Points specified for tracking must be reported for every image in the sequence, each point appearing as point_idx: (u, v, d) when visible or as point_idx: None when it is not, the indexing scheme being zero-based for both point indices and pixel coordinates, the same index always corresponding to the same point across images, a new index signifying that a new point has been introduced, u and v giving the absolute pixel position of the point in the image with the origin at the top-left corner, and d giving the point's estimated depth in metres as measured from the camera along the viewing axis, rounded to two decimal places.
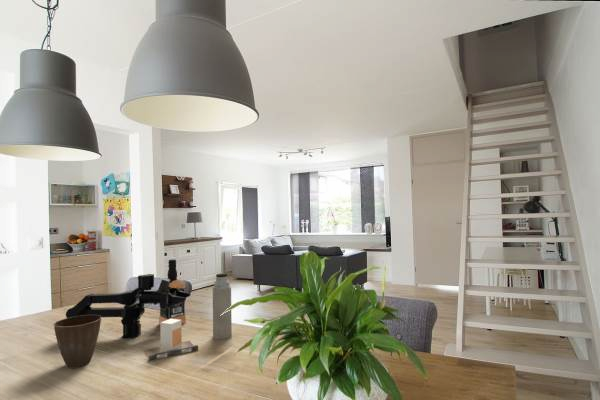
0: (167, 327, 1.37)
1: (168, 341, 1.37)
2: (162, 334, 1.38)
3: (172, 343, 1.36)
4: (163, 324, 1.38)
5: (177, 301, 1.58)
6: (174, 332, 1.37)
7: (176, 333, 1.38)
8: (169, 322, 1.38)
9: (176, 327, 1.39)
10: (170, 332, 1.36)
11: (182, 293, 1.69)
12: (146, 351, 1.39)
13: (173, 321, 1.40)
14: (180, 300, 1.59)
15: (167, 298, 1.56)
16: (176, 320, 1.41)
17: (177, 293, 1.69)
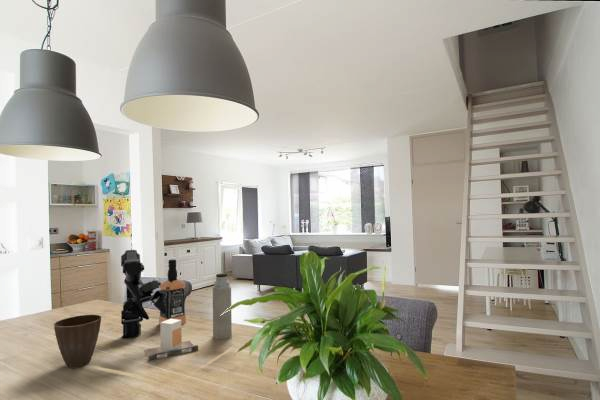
0: (167, 327, 1.37)
1: (168, 341, 1.37)
2: (162, 334, 1.38)
3: (172, 343, 1.36)
4: (163, 324, 1.38)
5: (140, 314, 1.39)
6: (174, 332, 1.37)
7: (176, 333, 1.38)
8: (169, 322, 1.38)
9: (176, 327, 1.39)
10: (170, 332, 1.36)
11: (161, 304, 1.49)
12: (146, 351, 1.39)
13: (173, 321, 1.40)
14: (143, 316, 1.39)
15: (133, 305, 1.38)
16: (176, 320, 1.41)
17: (158, 300, 1.50)
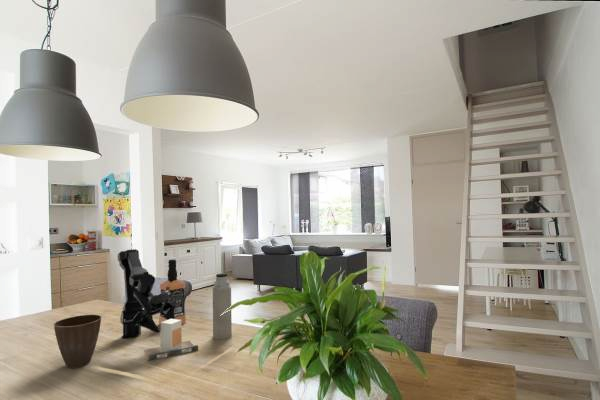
0: (167, 327, 1.37)
1: (168, 341, 1.37)
2: (162, 334, 1.38)
3: (172, 343, 1.36)
4: (163, 324, 1.38)
5: (150, 328, 1.36)
6: (174, 332, 1.37)
7: (176, 333, 1.38)
8: (169, 322, 1.38)
9: (176, 327, 1.39)
10: (170, 332, 1.36)
11: (171, 316, 1.46)
12: (146, 351, 1.39)
13: (173, 321, 1.40)
14: (153, 329, 1.36)
15: (143, 318, 1.35)
16: (176, 320, 1.41)
17: (169, 312, 1.47)
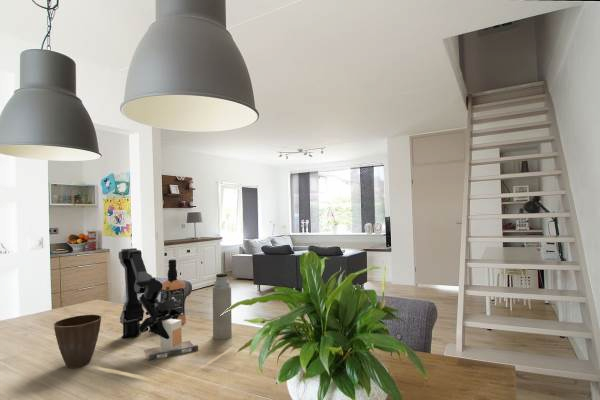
0: (167, 327, 1.37)
1: (168, 341, 1.37)
2: None
3: (172, 343, 1.36)
4: (163, 324, 1.38)
5: (160, 334, 1.37)
6: (174, 332, 1.37)
7: (176, 333, 1.38)
8: (169, 322, 1.38)
9: (176, 327, 1.39)
10: (170, 332, 1.36)
11: None
12: (146, 351, 1.39)
13: (173, 321, 1.40)
14: (163, 335, 1.37)
15: (153, 324, 1.35)
16: (176, 320, 1.41)
17: None
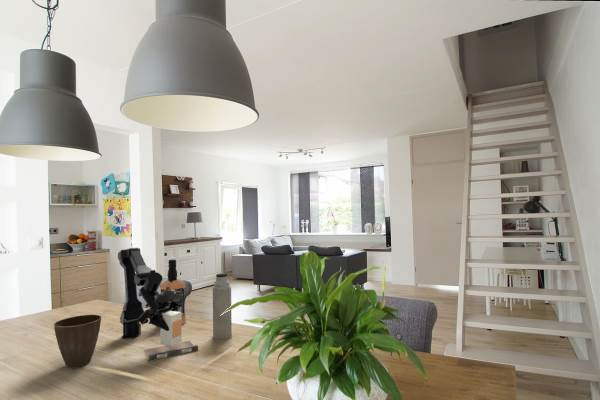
0: (167, 318, 1.37)
1: (168, 333, 1.37)
2: None
3: (172, 334, 1.37)
4: (163, 316, 1.38)
5: (160, 325, 1.37)
6: (174, 324, 1.37)
7: (176, 325, 1.38)
8: (169, 314, 1.38)
9: (176, 319, 1.39)
10: (170, 324, 1.37)
11: None
12: (146, 351, 1.39)
13: (173, 313, 1.40)
14: (163, 327, 1.37)
15: (153, 316, 1.36)
16: (176, 312, 1.41)
17: None
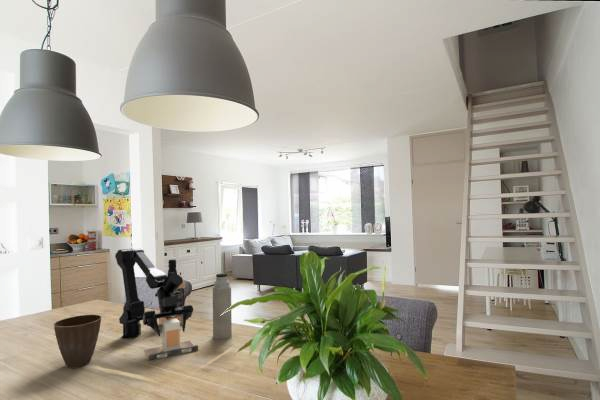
0: (164, 326, 1.38)
1: (164, 340, 1.37)
2: (162, 332, 1.40)
3: (166, 343, 1.36)
4: (163, 323, 1.40)
5: (154, 329, 1.38)
6: (168, 333, 1.36)
7: (171, 334, 1.37)
8: (167, 322, 1.39)
9: (172, 328, 1.38)
10: (164, 332, 1.36)
11: (182, 321, 1.43)
12: (146, 351, 1.39)
13: (171, 321, 1.39)
14: (156, 332, 1.37)
15: (148, 319, 1.38)
16: (175, 321, 1.40)
17: (182, 316, 1.45)
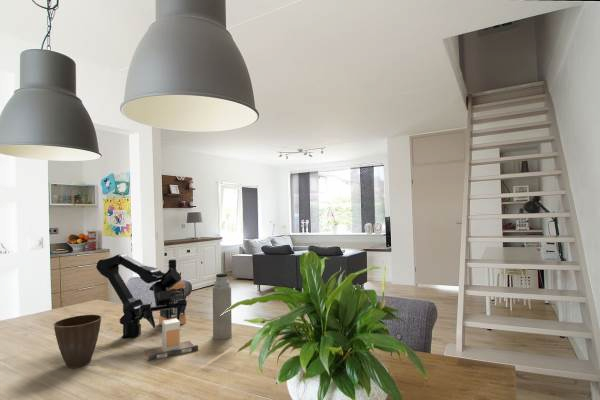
0: (164, 326, 1.38)
1: (164, 340, 1.37)
2: (162, 332, 1.40)
3: (166, 343, 1.36)
4: (163, 323, 1.40)
5: (150, 322, 1.47)
6: (168, 333, 1.36)
7: (171, 334, 1.37)
8: (167, 322, 1.39)
9: (172, 328, 1.38)
10: (164, 332, 1.36)
11: (176, 314, 1.52)
12: (146, 351, 1.39)
13: (171, 321, 1.39)
14: (151, 324, 1.46)
15: (144, 312, 1.47)
16: (175, 321, 1.40)
17: (176, 309, 1.53)
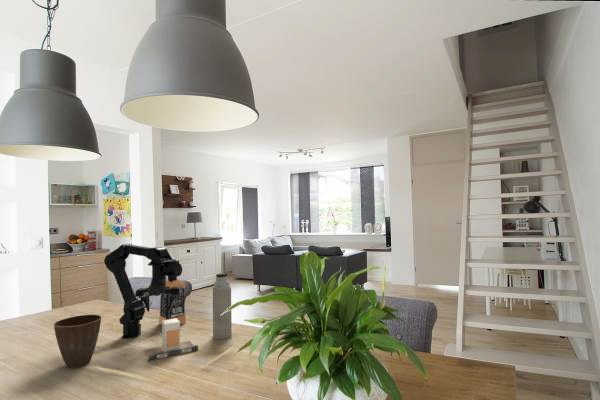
0: (164, 326, 1.38)
1: (164, 340, 1.37)
2: (162, 332, 1.40)
3: (166, 343, 1.36)
4: (163, 323, 1.40)
5: None
6: (168, 333, 1.36)
7: (171, 334, 1.37)
8: (167, 322, 1.39)
9: (172, 328, 1.38)
10: (164, 332, 1.36)
11: None
12: (146, 351, 1.39)
13: (171, 321, 1.39)
14: None
15: None
16: (175, 321, 1.40)
17: None
